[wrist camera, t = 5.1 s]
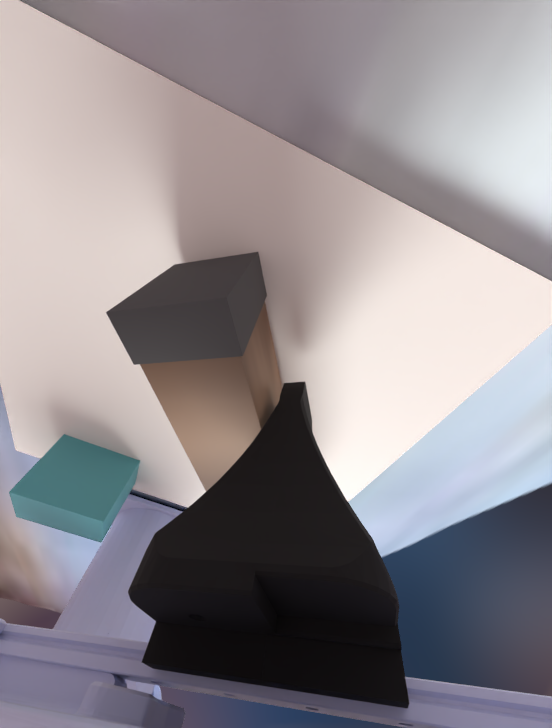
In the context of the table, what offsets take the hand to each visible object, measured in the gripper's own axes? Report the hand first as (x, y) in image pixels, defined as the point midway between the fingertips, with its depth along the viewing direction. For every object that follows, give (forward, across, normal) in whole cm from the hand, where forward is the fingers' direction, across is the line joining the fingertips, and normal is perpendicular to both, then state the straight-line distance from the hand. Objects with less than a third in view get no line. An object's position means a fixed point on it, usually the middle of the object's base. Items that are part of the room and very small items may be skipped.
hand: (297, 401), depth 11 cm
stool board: (+3, +5, +1) cm, 7 cm away
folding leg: (+2, +3, +3) cm, 4 cm away
